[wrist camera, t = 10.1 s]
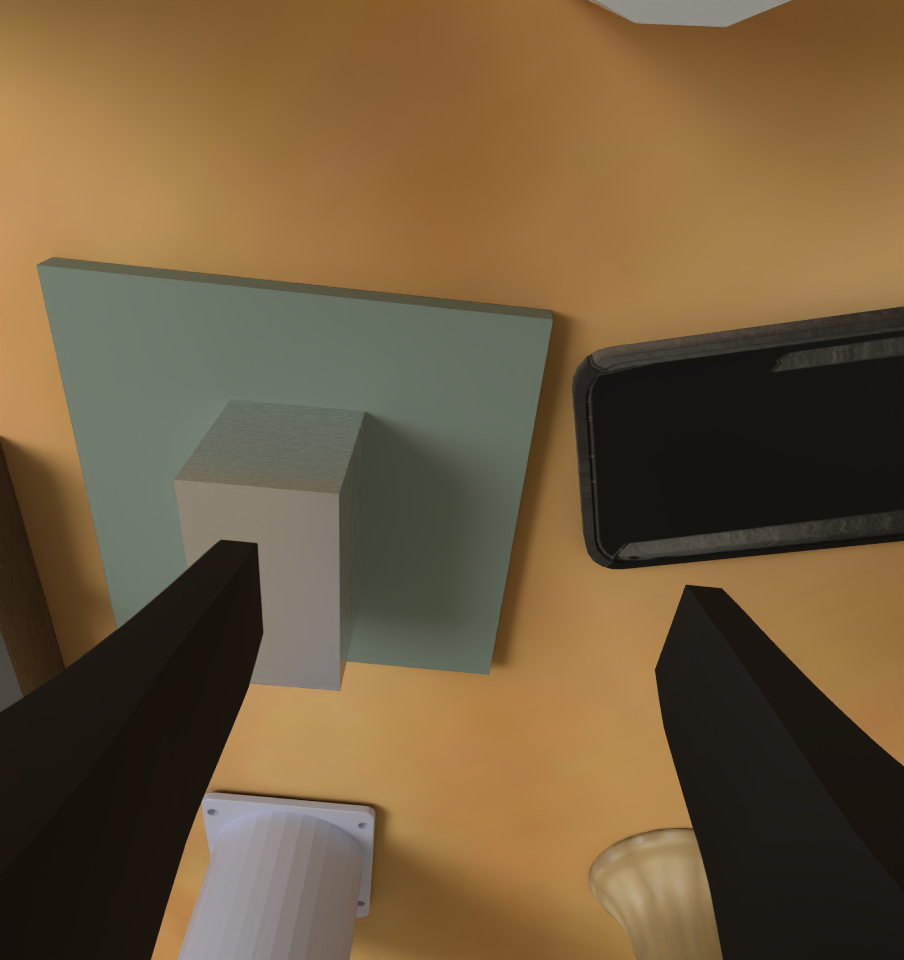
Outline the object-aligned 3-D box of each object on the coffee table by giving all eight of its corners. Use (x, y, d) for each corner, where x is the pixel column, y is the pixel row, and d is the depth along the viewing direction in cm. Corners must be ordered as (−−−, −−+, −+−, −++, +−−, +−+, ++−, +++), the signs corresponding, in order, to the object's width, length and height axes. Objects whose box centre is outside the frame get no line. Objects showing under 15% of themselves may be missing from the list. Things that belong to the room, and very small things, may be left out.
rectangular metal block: (362, 589, 24) (340, 690, 20) (248, 579, 24) (204, 679, 20) (365, 411, 21) (338, 494, 17) (230, 399, 21) (173, 480, 17)
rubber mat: (488, 658, 27) (489, 674, 26) (128, 624, 27) (119, 640, 26) (550, 309, 20) (552, 319, 19) (52, 257, 19) (36, 264, 19)
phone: (1064, 524, 22) (587, 573, 24) (1039, 504, 23) (583, 552, 25) (1156, 279, 18) (572, 359, 20) (1122, 267, 19) (568, 344, 21)
